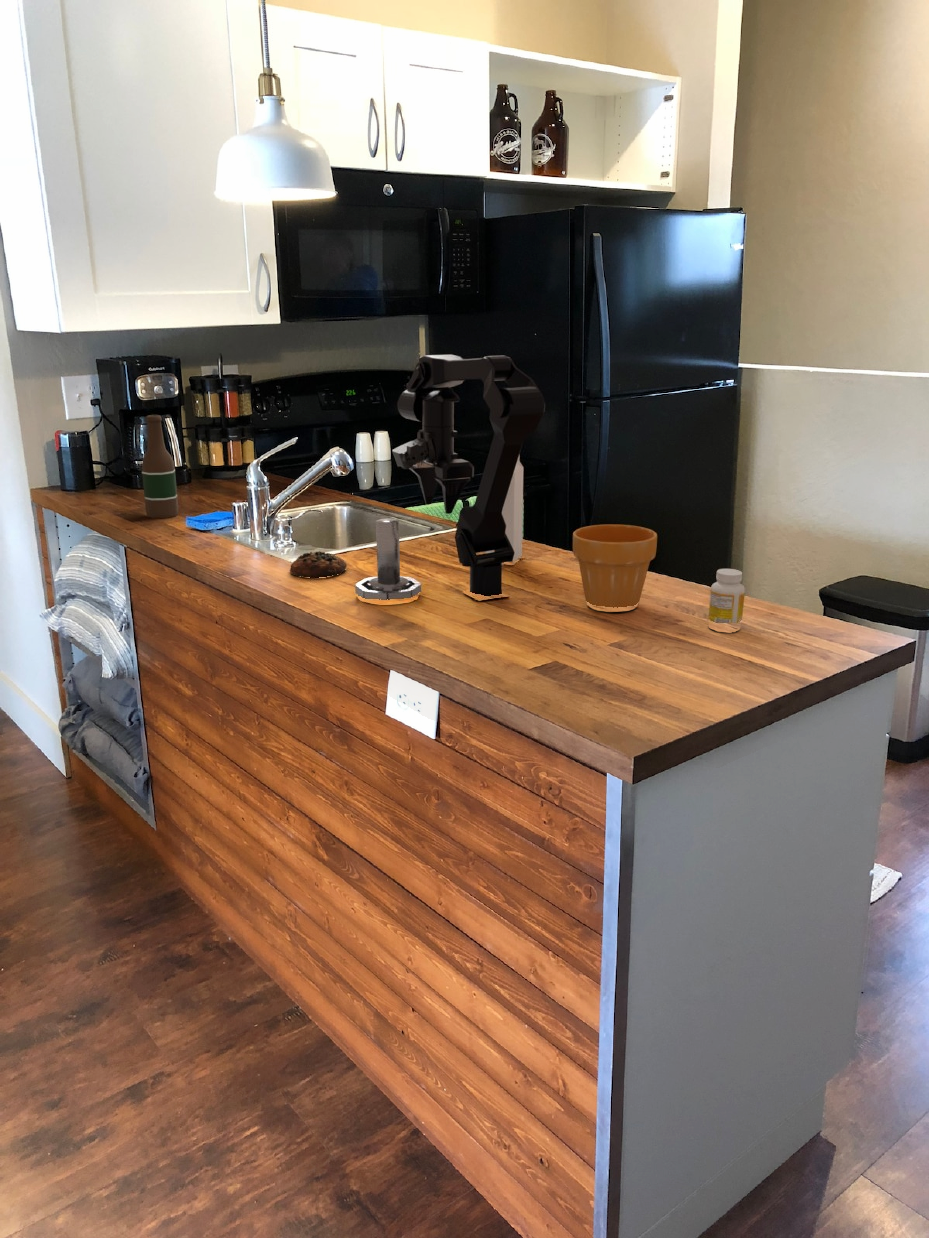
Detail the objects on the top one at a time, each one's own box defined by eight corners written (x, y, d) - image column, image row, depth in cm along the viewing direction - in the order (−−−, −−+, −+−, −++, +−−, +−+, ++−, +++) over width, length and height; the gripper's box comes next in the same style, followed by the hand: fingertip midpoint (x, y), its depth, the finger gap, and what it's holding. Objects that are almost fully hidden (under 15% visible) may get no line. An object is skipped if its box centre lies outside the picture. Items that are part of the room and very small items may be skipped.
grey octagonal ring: (429, 600, 179) (429, 588, 178) (369, 608, 174) (369, 596, 173) (405, 584, 188) (405, 573, 187) (348, 592, 184) (348, 579, 183)
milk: (513, 566, 201) (515, 456, 194) (484, 563, 203) (485, 454, 196) (521, 559, 206) (524, 451, 199) (493, 556, 208) (495, 449, 201)
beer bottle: (139, 517, 243) (129, 416, 236) (157, 511, 250) (148, 413, 243) (167, 519, 241) (158, 418, 234) (185, 513, 248) (176, 414, 241)
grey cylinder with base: (417, 595, 179) (416, 523, 175) (375, 600, 176) (373, 527, 172) (402, 584, 186) (400, 514, 182) (361, 588, 183) (359, 518, 179)
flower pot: (660, 598, 180) (663, 526, 176) (646, 621, 167) (649, 545, 163) (582, 592, 184) (583, 522, 180) (563, 614, 171) (564, 539, 168)
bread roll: (308, 582, 190) (306, 556, 189) (279, 578, 198) (277, 552, 197) (358, 575, 196) (356, 549, 195) (328, 570, 205) (326, 546, 204)
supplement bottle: (718, 635, 161) (723, 577, 158) (701, 625, 166) (705, 568, 163) (748, 632, 163) (753, 574, 160) (730, 622, 167) (735, 566, 164)
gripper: (378, 421, 190) (380, 503, 195) (417, 434, 174) (418, 522, 179) (432, 418, 195) (433, 498, 200) (475, 430, 179) (474, 517, 184)
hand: (438, 508), depth 190 cm, fingers open, 9 cm apart
